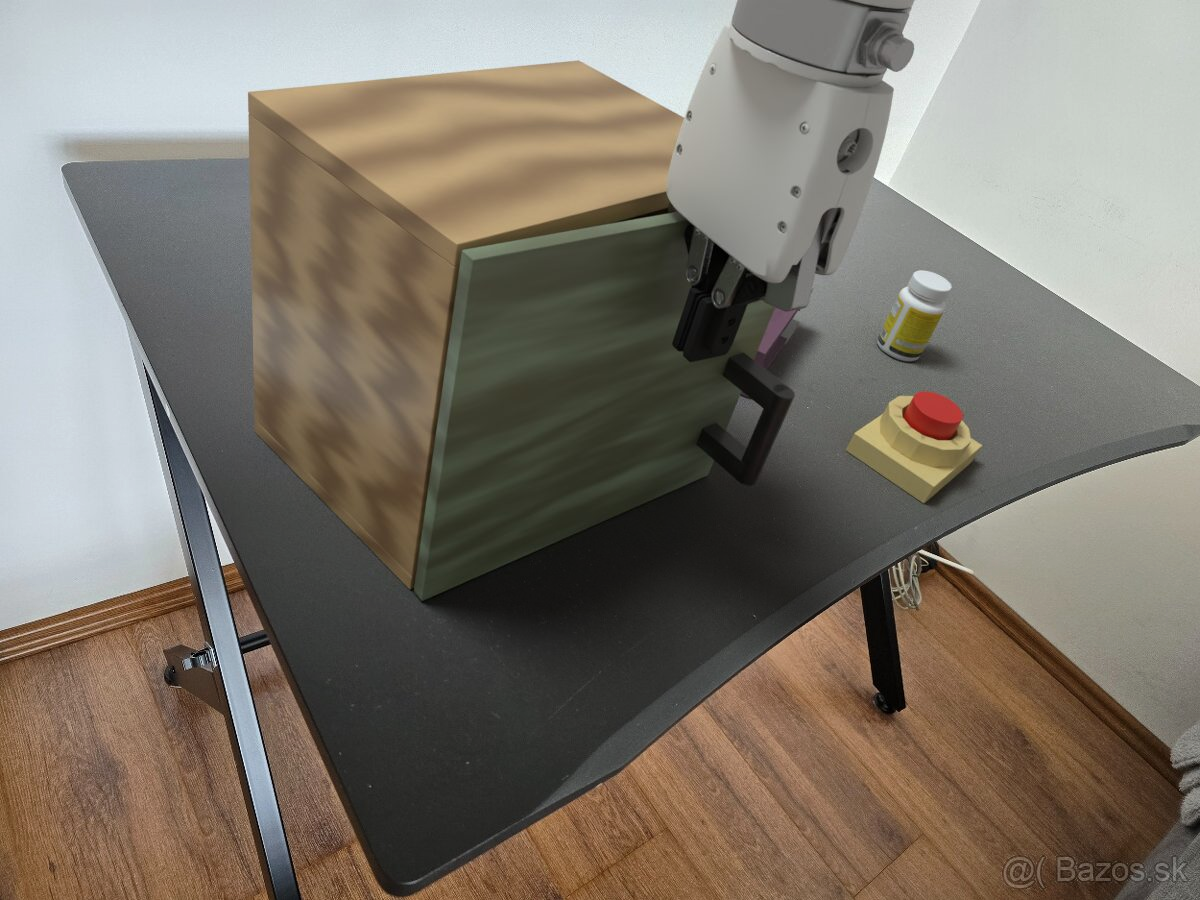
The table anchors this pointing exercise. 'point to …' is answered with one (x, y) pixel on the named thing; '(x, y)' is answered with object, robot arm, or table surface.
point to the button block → (912, 452)
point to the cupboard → (412, 253)
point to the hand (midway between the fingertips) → (699, 350)
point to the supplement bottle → (914, 316)
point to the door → (578, 395)
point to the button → (933, 415)
